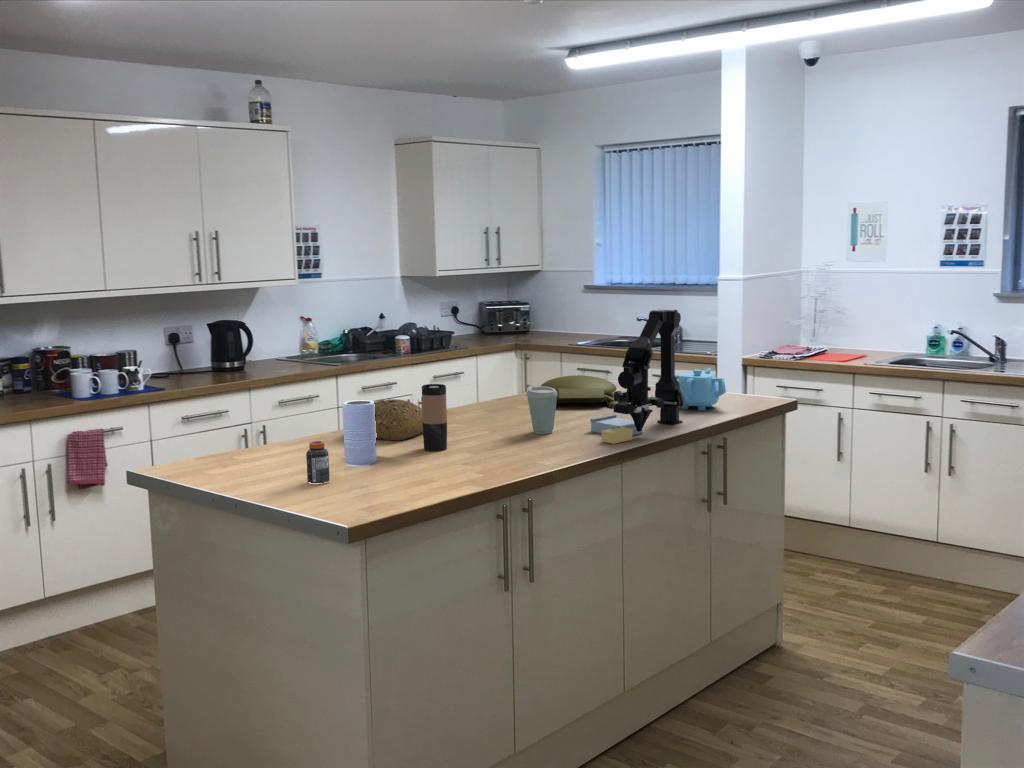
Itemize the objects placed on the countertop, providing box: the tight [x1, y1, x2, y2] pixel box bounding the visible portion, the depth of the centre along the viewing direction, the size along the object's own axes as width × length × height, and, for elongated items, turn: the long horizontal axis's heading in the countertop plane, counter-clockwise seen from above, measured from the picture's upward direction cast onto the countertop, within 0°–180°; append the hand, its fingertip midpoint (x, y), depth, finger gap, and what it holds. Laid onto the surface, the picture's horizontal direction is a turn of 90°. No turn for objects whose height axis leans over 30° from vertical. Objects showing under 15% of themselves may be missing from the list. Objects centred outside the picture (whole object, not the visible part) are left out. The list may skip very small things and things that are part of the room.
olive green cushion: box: [540, 374, 618, 409], centre depth 393 cm, size 35×31×10 cm
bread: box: [374, 398, 423, 442], centre depth 334 cm, size 24×21×12 cm
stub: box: [601, 427, 633, 445], centre depth 319 cm, size 9×5×4 cm, turn 131°
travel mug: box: [421, 383, 448, 452], centre depth 310 cm, size 8×8×20 cm
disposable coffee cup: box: [525, 385, 558, 435], centre depth 334 cm, size 11×11×15 cm
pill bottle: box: [305, 440, 331, 483], centre depth 272 cm, size 6×6×11 cm
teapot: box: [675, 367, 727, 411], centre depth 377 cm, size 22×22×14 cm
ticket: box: [589, 414, 643, 436], centre depth 334 cm, size 11×14×4 cm
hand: (639, 431), depth 326 cm, fingers closed
